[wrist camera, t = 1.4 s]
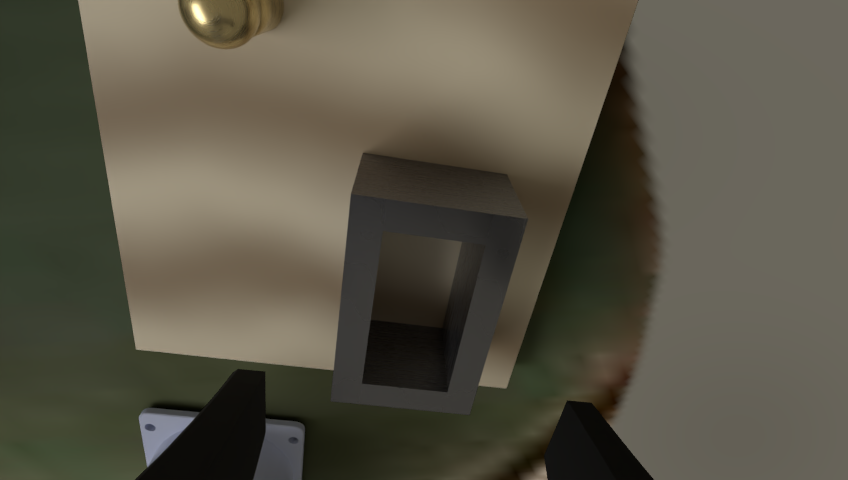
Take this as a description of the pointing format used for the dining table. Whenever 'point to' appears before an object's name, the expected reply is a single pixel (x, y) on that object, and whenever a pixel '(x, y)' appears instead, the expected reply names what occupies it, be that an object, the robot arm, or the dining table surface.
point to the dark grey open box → (470, 293)
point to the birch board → (332, 157)
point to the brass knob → (229, 20)
